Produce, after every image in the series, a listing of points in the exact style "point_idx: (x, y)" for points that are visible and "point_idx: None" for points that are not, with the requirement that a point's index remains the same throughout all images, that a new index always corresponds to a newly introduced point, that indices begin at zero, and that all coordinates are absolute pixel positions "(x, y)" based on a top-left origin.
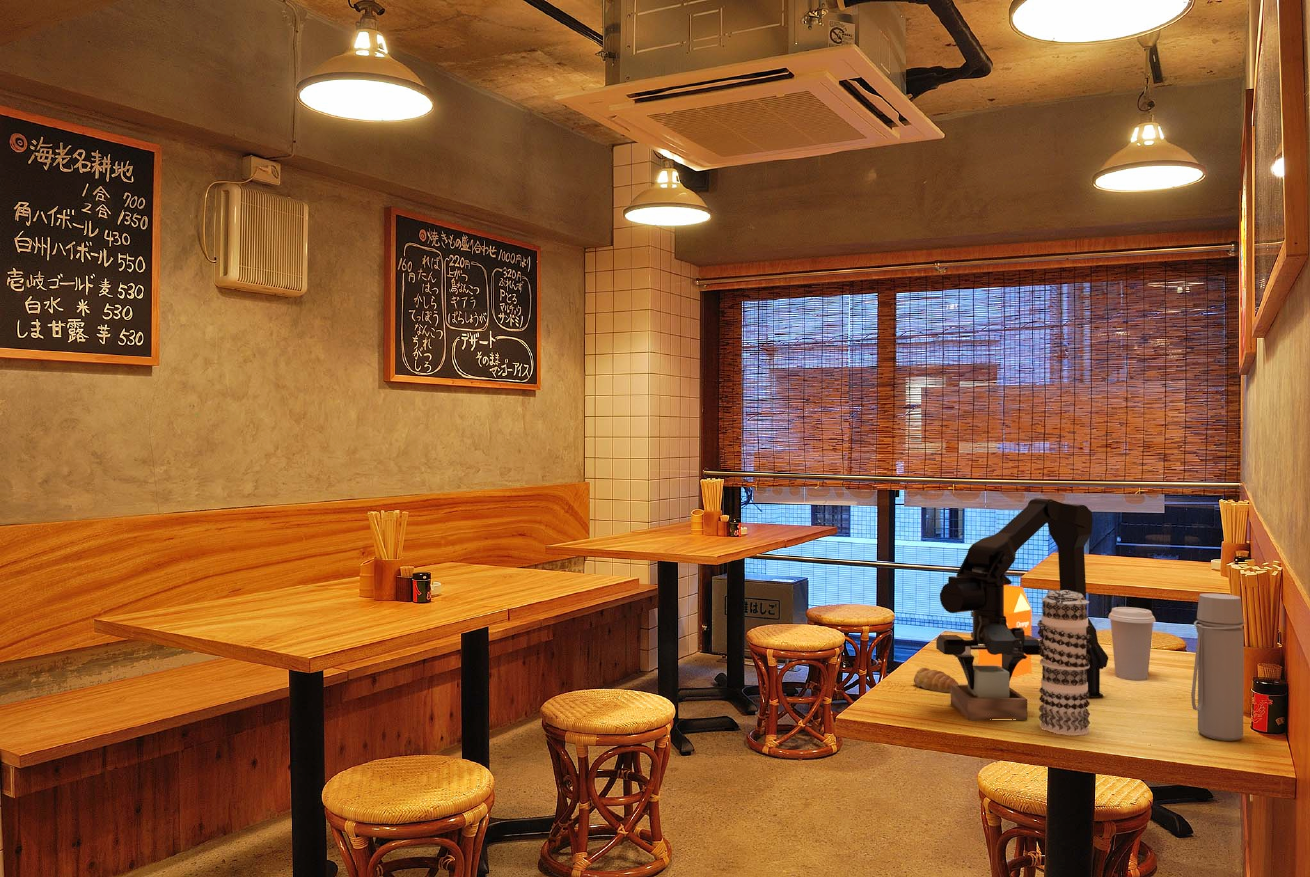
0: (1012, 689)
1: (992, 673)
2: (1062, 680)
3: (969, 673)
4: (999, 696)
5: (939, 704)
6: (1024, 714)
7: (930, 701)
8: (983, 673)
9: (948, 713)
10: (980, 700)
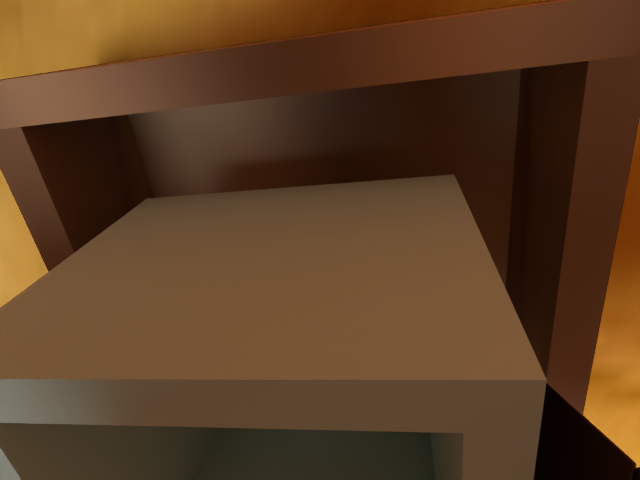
0: None
1: (216, 362)
2: None
3: (616, 466)
4: (229, 198)
5: (591, 389)
6: (87, 66)
7: (619, 439)
8: (407, 362)
9: (637, 201)
10: (485, 15)
